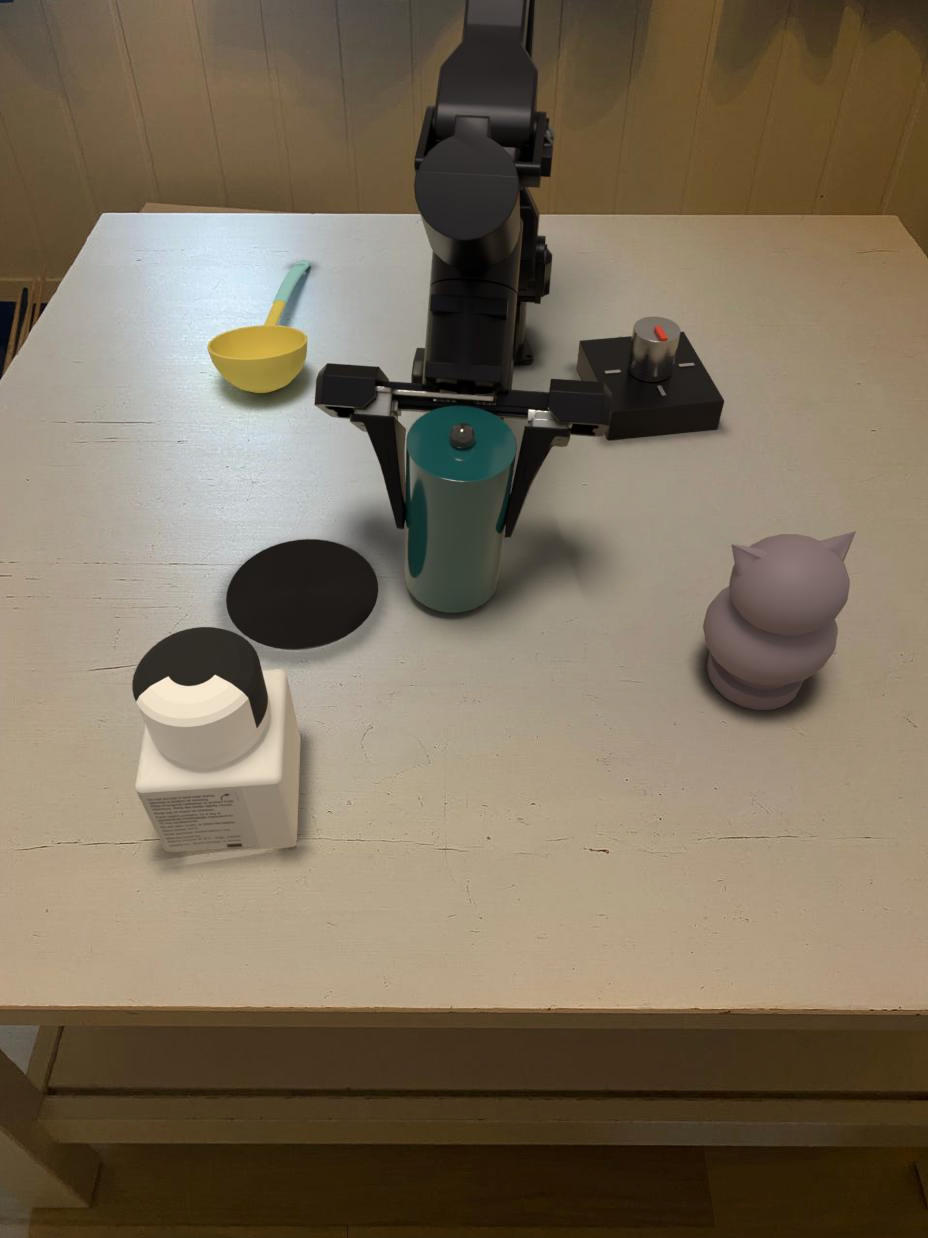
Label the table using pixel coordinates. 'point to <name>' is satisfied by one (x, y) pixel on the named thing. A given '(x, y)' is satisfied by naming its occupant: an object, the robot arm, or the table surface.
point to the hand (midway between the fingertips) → (454, 533)
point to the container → (216, 744)
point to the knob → (653, 349)
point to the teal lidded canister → (456, 506)
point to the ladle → (263, 347)
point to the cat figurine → (776, 618)
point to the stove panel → (651, 391)
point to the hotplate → (302, 594)
